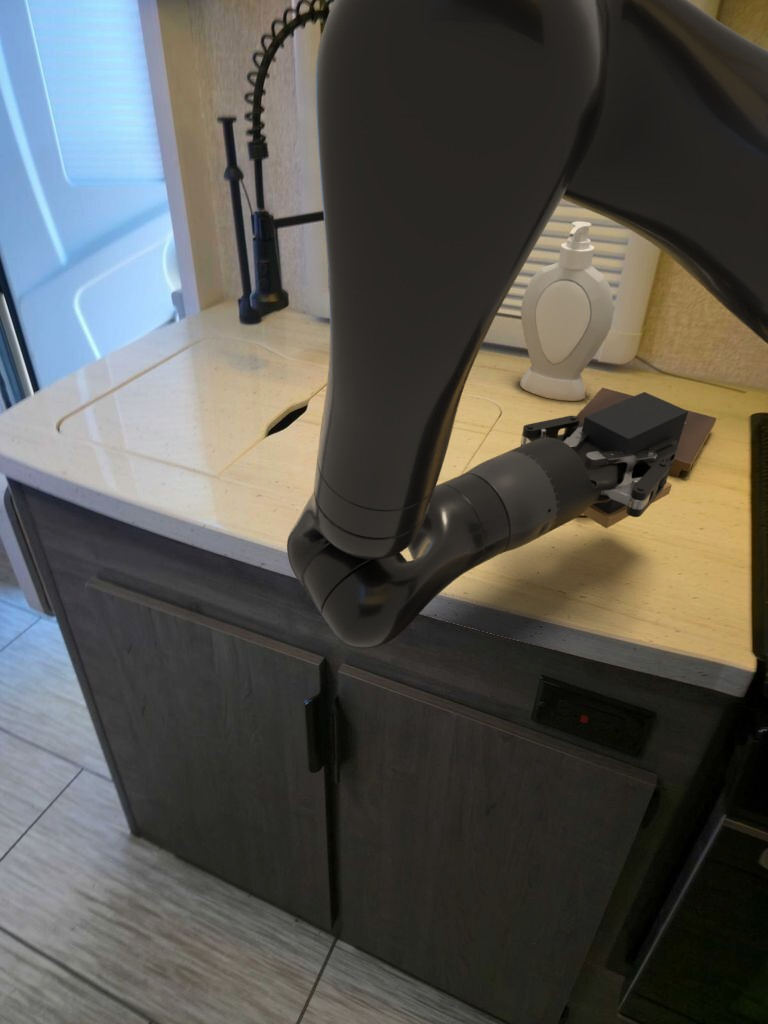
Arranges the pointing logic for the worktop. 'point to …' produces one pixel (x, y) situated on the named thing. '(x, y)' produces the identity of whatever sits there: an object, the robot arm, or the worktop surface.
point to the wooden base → (691, 435)
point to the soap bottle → (565, 319)
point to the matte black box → (631, 440)
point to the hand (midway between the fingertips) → (646, 435)
